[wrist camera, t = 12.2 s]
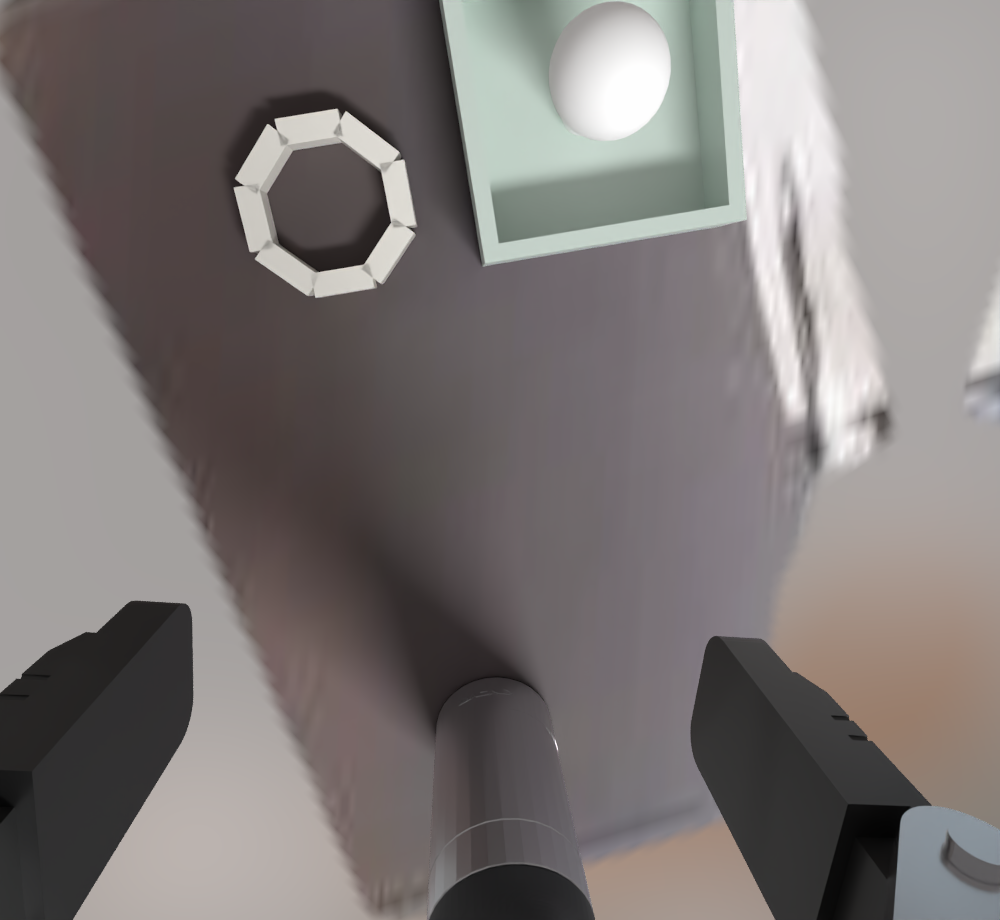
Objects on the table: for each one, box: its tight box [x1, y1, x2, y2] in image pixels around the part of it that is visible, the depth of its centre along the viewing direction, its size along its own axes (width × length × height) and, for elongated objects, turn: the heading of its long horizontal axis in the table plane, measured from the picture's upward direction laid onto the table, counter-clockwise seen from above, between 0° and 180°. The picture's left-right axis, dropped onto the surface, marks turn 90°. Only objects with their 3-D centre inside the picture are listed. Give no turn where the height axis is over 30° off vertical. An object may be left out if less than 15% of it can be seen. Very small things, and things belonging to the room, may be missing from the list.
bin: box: [439, 0, 747, 266], centre depth 39 cm, size 16×16×4 cm
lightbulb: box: [549, 1, 671, 141], centre depth 35 cm, size 6×6×11 cm
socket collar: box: [234, 109, 417, 298], centre depth 41 cm, size 10×10×2 cm
